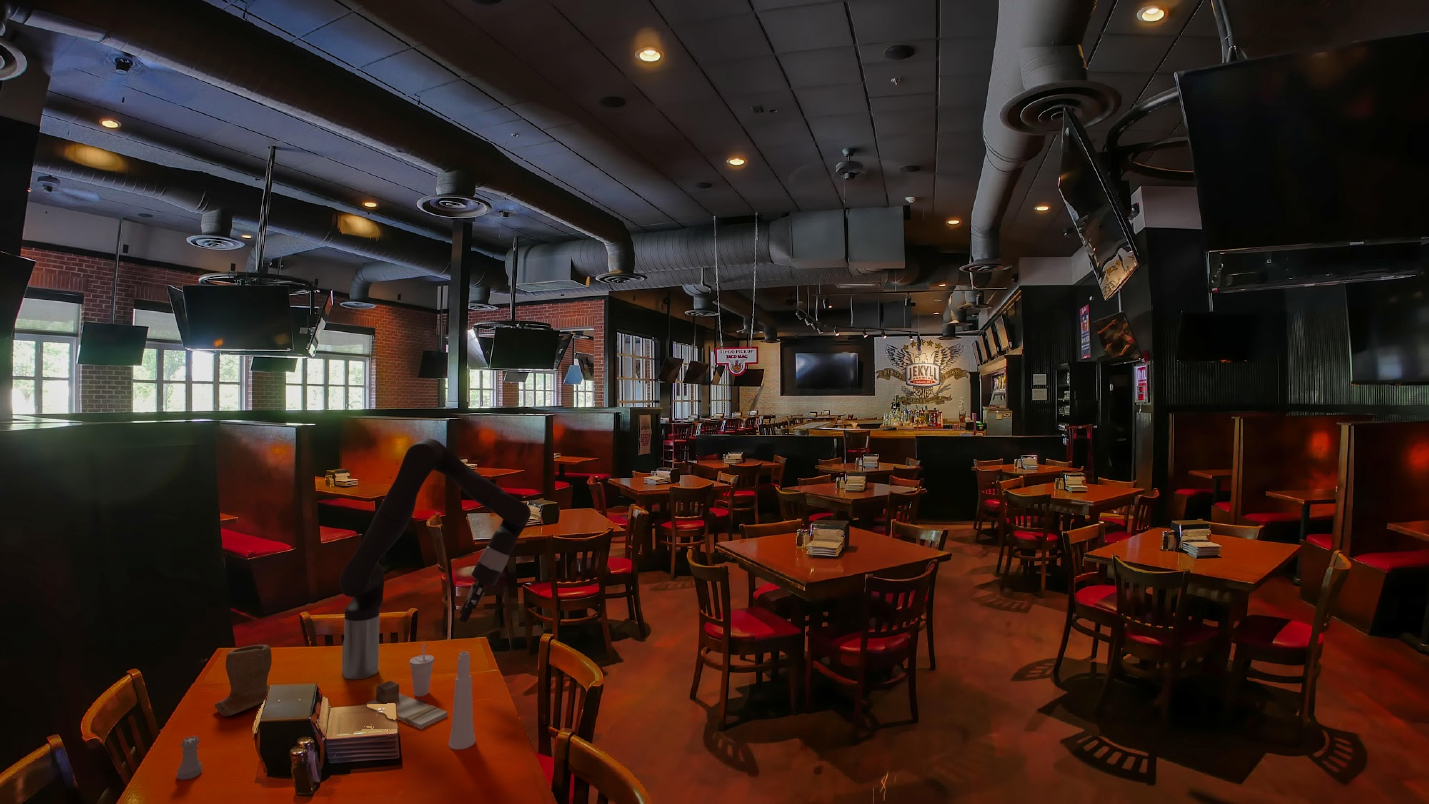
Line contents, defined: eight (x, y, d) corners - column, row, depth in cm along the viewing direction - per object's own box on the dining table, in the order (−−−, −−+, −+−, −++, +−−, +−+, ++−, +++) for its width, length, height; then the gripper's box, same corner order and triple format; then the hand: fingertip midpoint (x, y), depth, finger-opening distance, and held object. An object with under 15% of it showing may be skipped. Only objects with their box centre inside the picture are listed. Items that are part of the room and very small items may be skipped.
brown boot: (257, 689, 187) (258, 636, 187) (288, 696, 183) (289, 642, 183) (199, 713, 173) (200, 655, 173) (231, 722, 169) (232, 663, 169)
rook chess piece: (186, 769, 148) (186, 733, 148) (207, 769, 148) (207, 733, 148) (171, 781, 143) (171, 744, 143) (193, 780, 144) (194, 743, 144)
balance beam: (363, 708, 178) (364, 689, 178) (396, 694, 186) (396, 676, 186) (417, 730, 167) (418, 710, 167) (449, 715, 175) (450, 695, 175)
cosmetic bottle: (445, 741, 162) (447, 651, 162) (470, 734, 166) (472, 646, 166) (452, 752, 157) (454, 660, 157) (478, 745, 161) (480, 654, 161)
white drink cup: (424, 699, 183) (425, 649, 183) (403, 697, 185) (404, 646, 185) (438, 689, 190) (439, 640, 190) (418, 687, 191) (419, 638, 191)
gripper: (478, 556, 200) (450, 608, 197) (479, 563, 187) (449, 618, 183) (501, 566, 202) (474, 617, 199) (503, 574, 189) (475, 629, 185)
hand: (462, 618), depth 191 cm, fingers open, 8 cm apart
